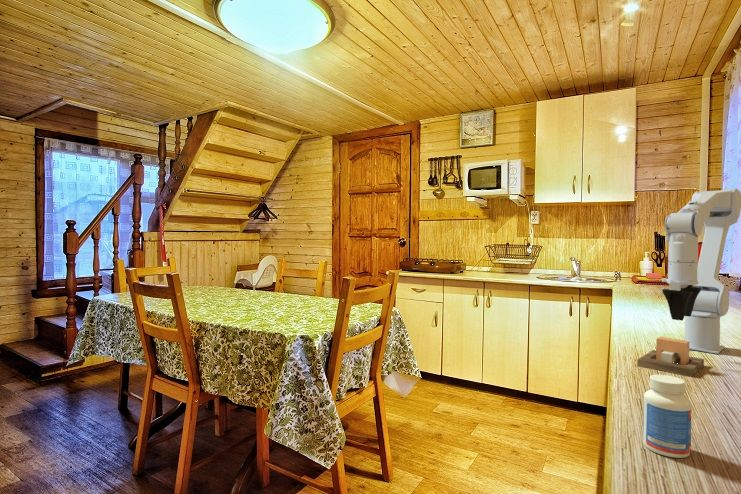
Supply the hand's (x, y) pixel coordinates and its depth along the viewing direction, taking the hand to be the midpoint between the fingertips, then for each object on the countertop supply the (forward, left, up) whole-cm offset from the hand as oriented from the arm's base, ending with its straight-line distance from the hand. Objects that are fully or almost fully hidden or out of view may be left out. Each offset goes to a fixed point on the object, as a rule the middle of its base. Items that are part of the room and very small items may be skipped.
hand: (681, 317), depth 101 cm
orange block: (+9, 0, -9) cm, 13 cm away
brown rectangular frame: (+9, 0, -10) cm, 13 cm away
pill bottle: (+55, +10, -10) cm, 57 cm away
